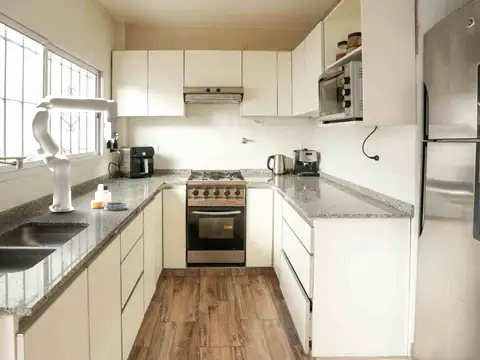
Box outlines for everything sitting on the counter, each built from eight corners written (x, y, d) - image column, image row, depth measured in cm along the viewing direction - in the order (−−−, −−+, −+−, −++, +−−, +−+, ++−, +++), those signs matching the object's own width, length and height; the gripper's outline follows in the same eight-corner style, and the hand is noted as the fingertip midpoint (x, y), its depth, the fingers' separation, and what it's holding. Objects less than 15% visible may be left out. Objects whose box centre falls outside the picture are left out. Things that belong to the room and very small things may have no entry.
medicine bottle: (104, 202, 309) (104, 184, 308) (111, 203, 304) (111, 184, 303) (95, 203, 303) (94, 184, 302) (101, 204, 299) (101, 185, 298)
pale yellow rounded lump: (99, 208, 283) (99, 202, 282) (88, 208, 285) (88, 201, 284) (105, 207, 290) (105, 200, 289) (95, 206, 291) (95, 200, 291)
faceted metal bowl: (119, 210, 275) (119, 205, 274) (100, 209, 277) (100, 204, 277) (129, 207, 287) (129, 202, 286) (110, 206, 290) (110, 201, 289)
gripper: (100, 121, 295) (101, 148, 297) (110, 120, 282) (111, 149, 283) (111, 121, 300) (112, 148, 302) (122, 120, 286) (123, 149, 288)
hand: (112, 148), depth 292 cm, fingers open, 9 cm apart
